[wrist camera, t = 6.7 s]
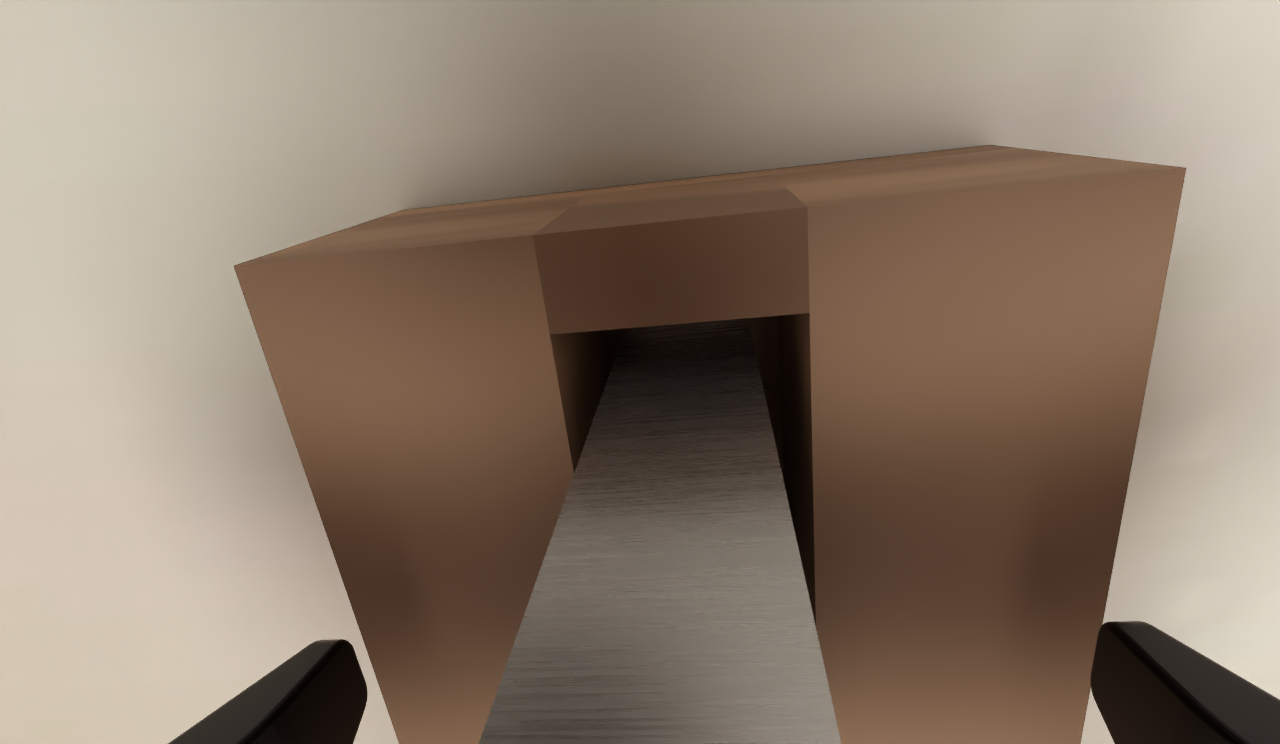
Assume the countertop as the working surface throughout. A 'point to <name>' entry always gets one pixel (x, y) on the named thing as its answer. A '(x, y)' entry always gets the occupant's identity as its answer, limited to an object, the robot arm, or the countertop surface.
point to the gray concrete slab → (671, 568)
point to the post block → (796, 400)
